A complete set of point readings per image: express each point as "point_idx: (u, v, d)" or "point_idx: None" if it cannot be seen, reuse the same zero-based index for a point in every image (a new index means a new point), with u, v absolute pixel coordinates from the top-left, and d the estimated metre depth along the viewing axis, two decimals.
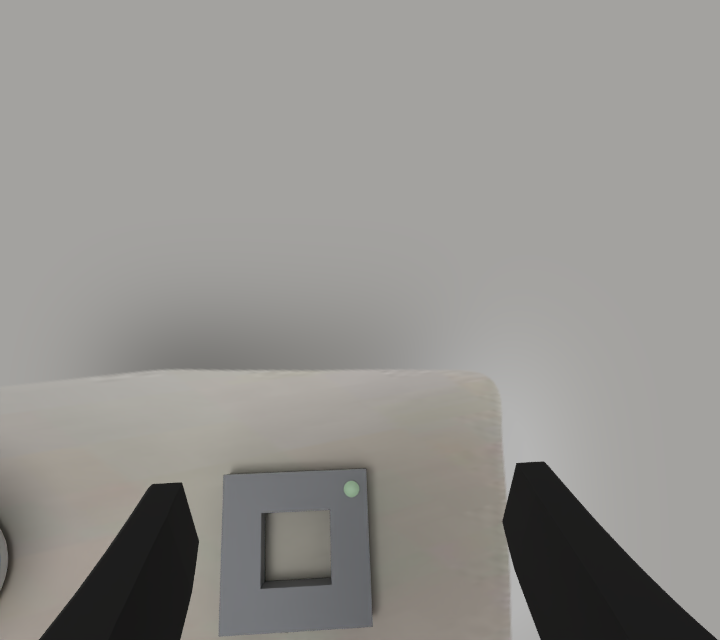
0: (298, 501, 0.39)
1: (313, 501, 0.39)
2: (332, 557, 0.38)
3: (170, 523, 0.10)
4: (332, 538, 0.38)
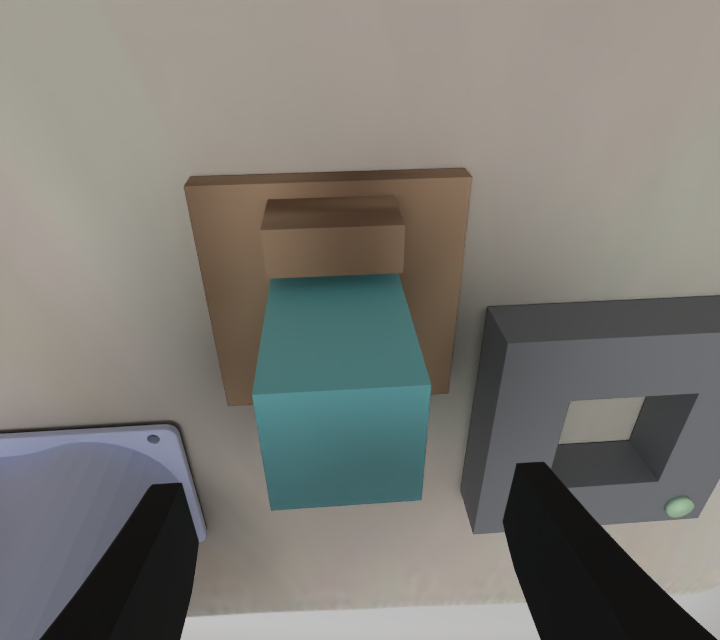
0: (692, 442, 0.21)
1: (681, 461, 0.22)
2: (585, 488, 0.23)
3: (170, 523, 0.10)
4: (613, 486, 0.23)
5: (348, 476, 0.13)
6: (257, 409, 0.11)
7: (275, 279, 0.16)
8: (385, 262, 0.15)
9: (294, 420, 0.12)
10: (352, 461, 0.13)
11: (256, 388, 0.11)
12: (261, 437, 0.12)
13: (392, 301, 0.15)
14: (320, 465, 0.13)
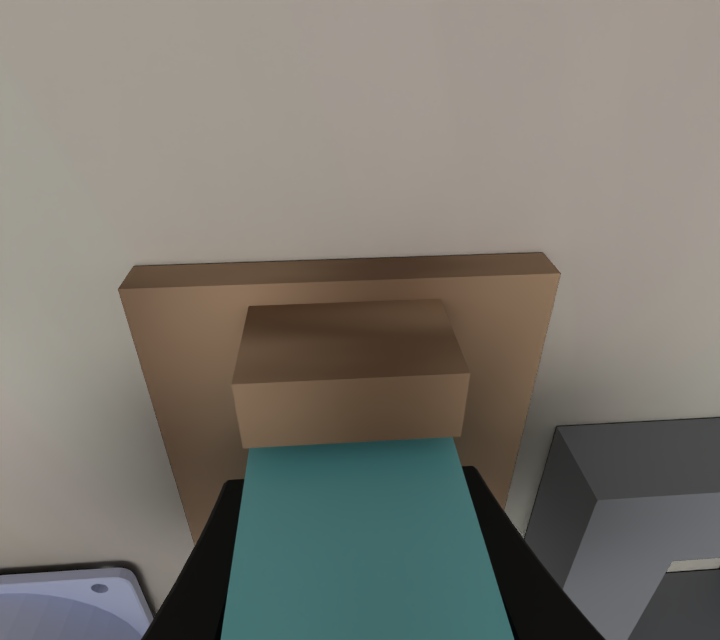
0: None
1: None
2: None
3: None
4: None
5: None
6: None
7: None
8: (434, 423, 0.09)
9: None
10: None
11: None
12: None
13: (444, 489, 0.09)
14: None
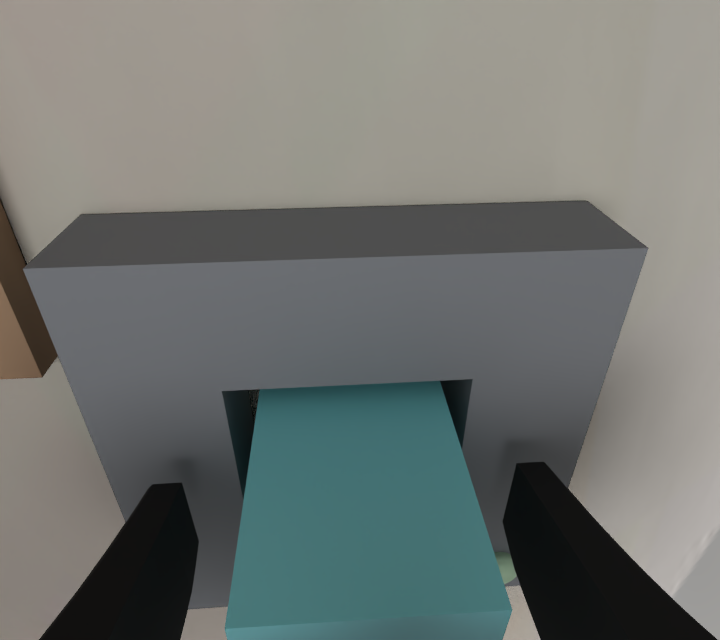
0: (488, 467, 0.12)
1: (479, 498, 0.13)
2: None
3: (170, 523, 0.10)
4: None
5: None
6: None
7: None
8: None
9: None
10: None
11: (232, 612, 0.07)
12: None
13: (433, 423, 0.10)
14: None
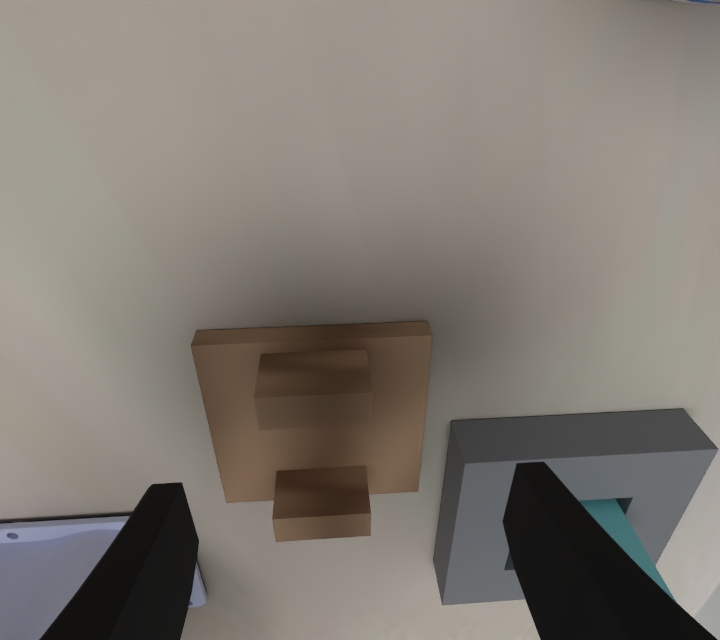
0: None
1: None
2: None
3: (170, 523, 0.10)
4: None
5: None
6: None
7: None
8: (357, 417, 0.18)
9: None
10: None
11: None
12: None
13: (618, 519, 0.23)
14: None
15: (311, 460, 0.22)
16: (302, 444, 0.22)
